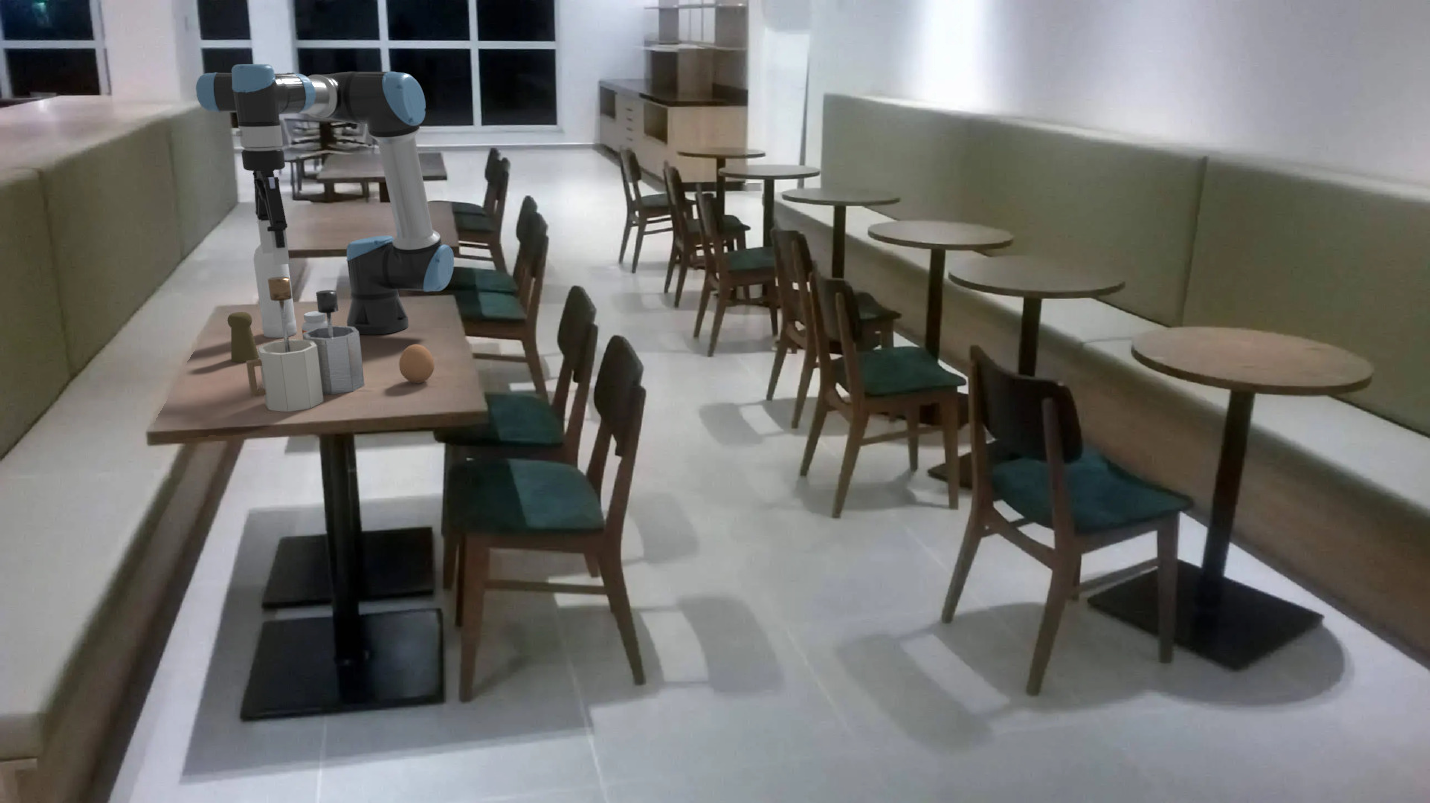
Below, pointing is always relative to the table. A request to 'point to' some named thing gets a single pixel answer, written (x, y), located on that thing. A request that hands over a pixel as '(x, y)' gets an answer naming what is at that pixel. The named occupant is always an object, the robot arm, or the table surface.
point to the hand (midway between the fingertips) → (275, 258)
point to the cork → (242, 338)
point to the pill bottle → (314, 321)
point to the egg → (416, 364)
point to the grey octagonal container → (338, 358)
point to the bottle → (268, 306)
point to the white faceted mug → (287, 375)
